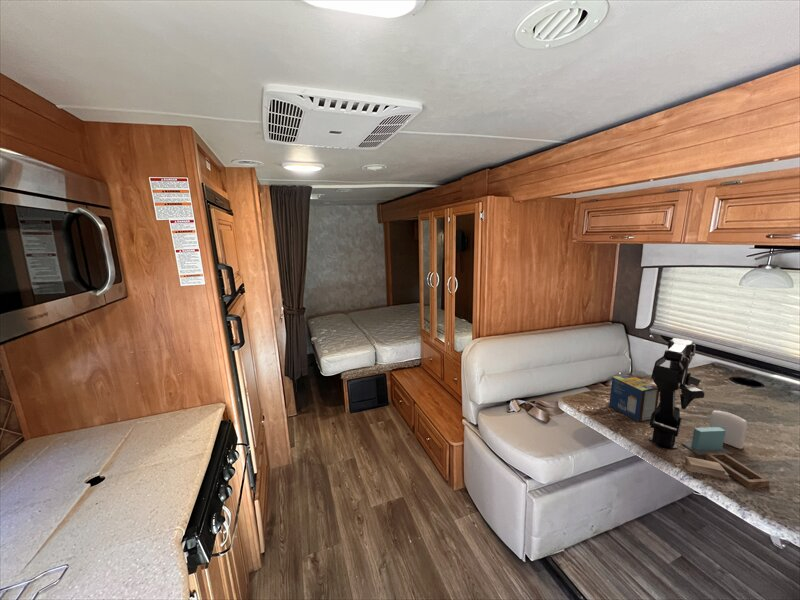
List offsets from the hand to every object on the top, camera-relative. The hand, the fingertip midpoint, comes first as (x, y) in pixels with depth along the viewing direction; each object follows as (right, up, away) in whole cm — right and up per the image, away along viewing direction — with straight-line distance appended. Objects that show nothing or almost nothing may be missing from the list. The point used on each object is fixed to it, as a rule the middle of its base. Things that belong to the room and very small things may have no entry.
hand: (673, 403), depth 131 cm
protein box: (-4, -10, +18) cm, 21 cm away
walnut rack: (+3, -17, -21) cm, 27 cm away
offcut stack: (-7, -18, -20) cm, 28 cm away
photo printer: (+16, -14, -5) cm, 22 cm away
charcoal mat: (+5, -15, -9) cm, 18 cm away
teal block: (+5, -14, -9) cm, 18 cm away
